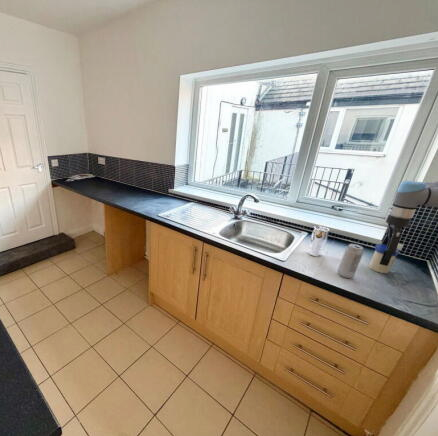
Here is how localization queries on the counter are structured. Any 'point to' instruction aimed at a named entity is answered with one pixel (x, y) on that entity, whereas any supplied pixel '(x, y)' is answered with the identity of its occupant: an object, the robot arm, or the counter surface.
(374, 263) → the jam jar
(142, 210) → the counter surface
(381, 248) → the jar lid
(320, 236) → the beer glass
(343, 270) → the energy drink can
